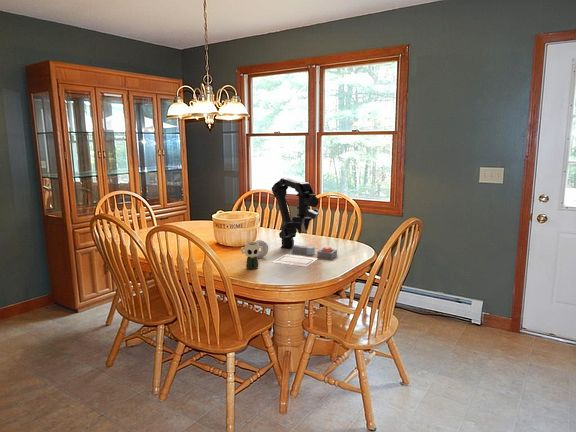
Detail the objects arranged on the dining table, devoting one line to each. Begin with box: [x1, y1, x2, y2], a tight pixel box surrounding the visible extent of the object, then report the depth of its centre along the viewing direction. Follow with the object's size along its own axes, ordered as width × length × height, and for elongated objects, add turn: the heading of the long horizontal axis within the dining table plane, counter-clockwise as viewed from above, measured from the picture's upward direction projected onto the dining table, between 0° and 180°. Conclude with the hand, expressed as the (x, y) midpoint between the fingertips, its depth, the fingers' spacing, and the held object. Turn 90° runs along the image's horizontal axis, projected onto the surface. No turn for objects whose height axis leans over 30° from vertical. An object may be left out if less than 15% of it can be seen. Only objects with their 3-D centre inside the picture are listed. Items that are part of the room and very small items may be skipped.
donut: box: [254, 239, 269, 259], centre depth 234 cm, size 10×3×10 cm, turn 99°
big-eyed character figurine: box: [240, 241, 263, 270], centre depth 216 cm, size 11×7×13 cm, turn 101°
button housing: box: [316, 247, 338, 260], centre depth 237 cm, size 8×8×4 cm
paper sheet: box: [272, 253, 320, 268], centre depth 230 cm, size 20×17×1 cm
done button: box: [322, 246, 333, 253], centre depth 236 cm, size 5×5×4 cm
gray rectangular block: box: [292, 244, 316, 256], centre depth 244 cm, size 12×4×4 cm, turn 64°
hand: (303, 231), depth 242 cm, fingers open, 9 cm apart
